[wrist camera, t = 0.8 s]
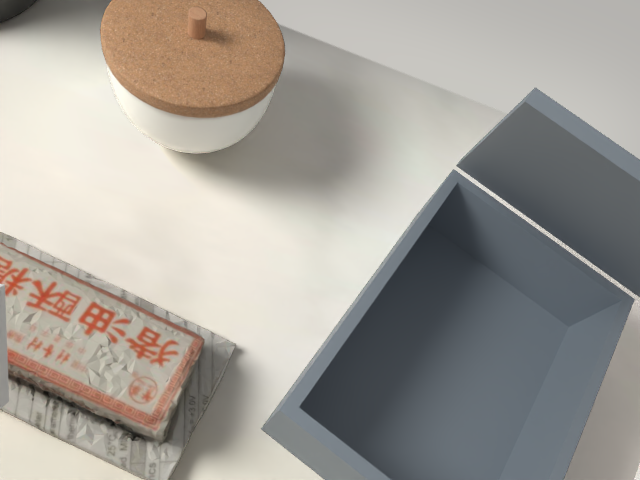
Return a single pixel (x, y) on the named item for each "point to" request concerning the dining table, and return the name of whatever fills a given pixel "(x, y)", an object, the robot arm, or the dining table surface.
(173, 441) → the packaged product
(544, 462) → the mailer box
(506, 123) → the lid
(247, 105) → the lidded bowl
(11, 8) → the robot arm
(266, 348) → the dining table surface
